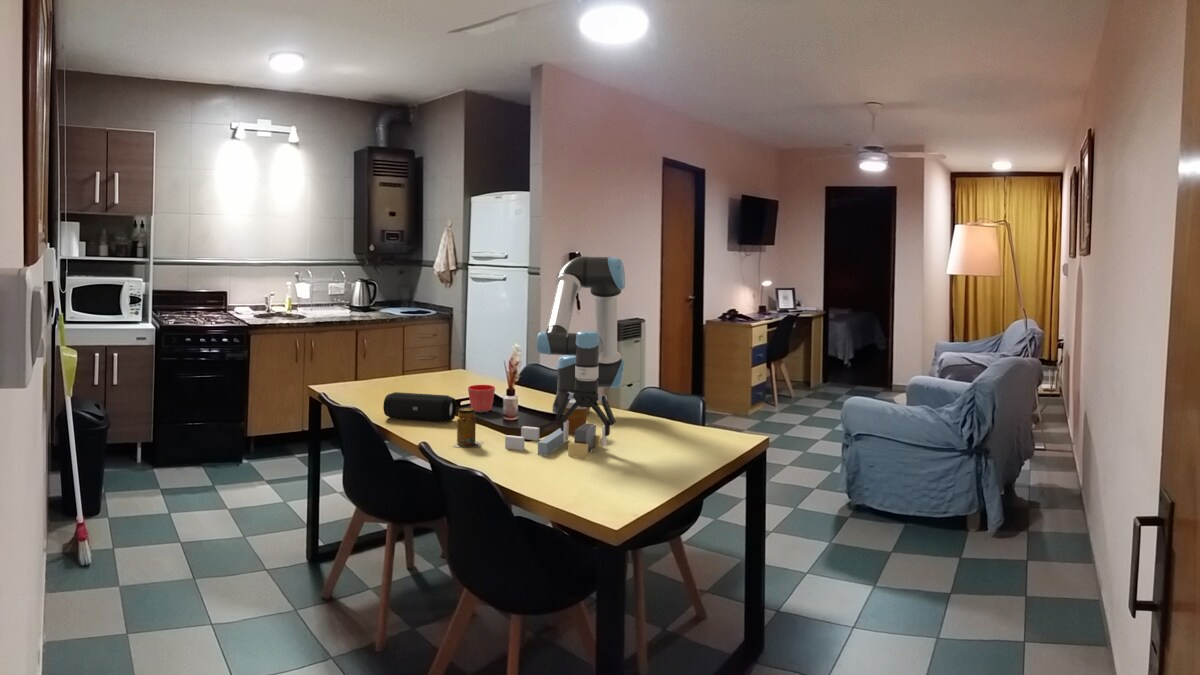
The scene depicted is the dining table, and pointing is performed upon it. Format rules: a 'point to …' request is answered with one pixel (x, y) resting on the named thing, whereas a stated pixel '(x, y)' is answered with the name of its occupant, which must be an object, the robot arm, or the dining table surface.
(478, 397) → the flower pot
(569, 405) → the disposable coffee cup
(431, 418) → the portable speaker
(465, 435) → the condiment
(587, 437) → the steel block
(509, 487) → the dining table surface
